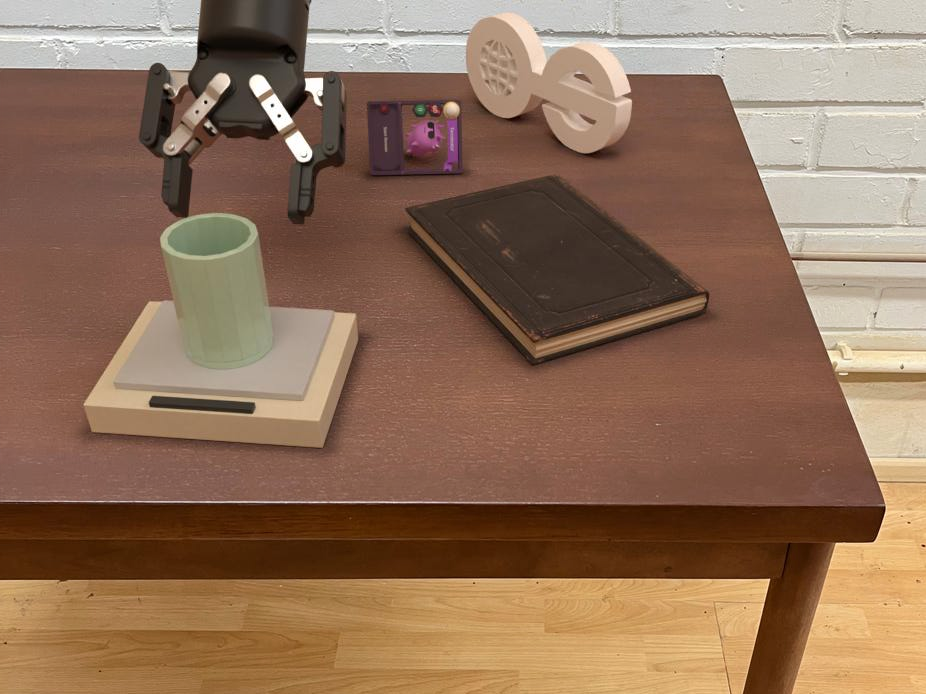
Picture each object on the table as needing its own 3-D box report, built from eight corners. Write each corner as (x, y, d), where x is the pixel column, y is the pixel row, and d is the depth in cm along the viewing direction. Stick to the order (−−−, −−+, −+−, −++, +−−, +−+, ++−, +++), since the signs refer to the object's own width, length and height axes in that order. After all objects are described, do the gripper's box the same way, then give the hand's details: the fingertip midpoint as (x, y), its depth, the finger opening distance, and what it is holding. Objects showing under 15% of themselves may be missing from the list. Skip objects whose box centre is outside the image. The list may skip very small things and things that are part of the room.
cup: (172, 366, 69) (146, 256, 63) (200, 317, 74) (177, 210, 68) (261, 372, 69) (242, 261, 63) (283, 322, 73) (267, 215, 68)
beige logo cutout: (465, 101, 112) (465, 6, 105) (480, 96, 113) (481, 2, 107) (610, 167, 100) (621, 63, 93) (625, 160, 101) (637, 58, 94)
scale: (91, 432, 68) (80, 397, 66) (155, 327, 78) (147, 293, 76) (322, 448, 67) (318, 413, 65) (358, 339, 77) (355, 306, 75)
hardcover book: (532, 365, 75) (533, 339, 73) (406, 231, 90) (405, 207, 88) (707, 313, 80) (711, 288, 79) (560, 195, 95) (562, 172, 94)
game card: (366, 101, 95) (461, 100, 95) (368, 99, 99) (458, 98, 100) (370, 175, 97) (463, 173, 98) (371, 170, 102) (460, 168, 103)
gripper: (138, -38, 69) (116, 195, 68) (344, -31, 68) (324, 206, 67) (179, 18, 76) (159, 228, 75) (364, 26, 75) (346, 239, 74)
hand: (236, 218), depth 71 cm, fingers open, 8 cm apart
